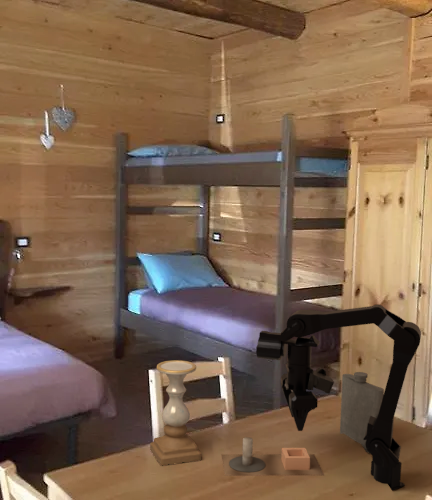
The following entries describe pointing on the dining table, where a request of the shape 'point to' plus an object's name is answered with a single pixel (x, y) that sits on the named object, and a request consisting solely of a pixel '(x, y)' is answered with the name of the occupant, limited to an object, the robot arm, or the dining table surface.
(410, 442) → the dining table surface
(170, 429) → the candle holder
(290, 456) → the collar
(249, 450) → the post board
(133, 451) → the dining table surface
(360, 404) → the hip flask
